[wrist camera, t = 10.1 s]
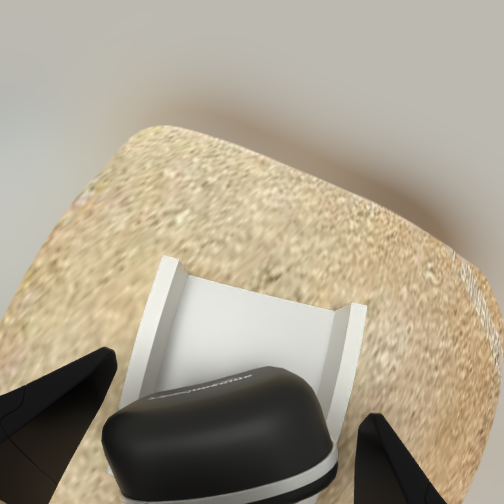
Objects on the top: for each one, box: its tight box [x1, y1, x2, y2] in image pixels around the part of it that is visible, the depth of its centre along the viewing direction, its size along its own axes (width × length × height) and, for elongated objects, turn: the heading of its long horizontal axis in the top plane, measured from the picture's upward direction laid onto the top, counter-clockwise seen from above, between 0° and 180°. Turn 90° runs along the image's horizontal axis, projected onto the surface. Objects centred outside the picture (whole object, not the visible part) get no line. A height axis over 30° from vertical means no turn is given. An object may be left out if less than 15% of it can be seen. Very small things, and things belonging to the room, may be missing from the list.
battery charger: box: [101, 366, 338, 504], centre depth 10 cm, size 7×4×11 cm, turn 107°
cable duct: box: [107, 255, 367, 504], centre depth 15 cm, size 14×12×4 cm
